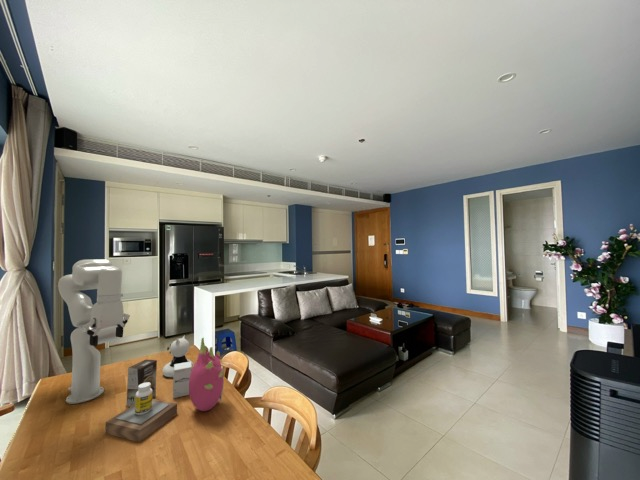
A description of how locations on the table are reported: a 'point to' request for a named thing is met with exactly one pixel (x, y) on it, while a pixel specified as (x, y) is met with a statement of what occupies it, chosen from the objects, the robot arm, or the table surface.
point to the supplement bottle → (143, 399)
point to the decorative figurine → (177, 355)
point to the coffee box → (141, 378)
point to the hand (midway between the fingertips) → (107, 341)
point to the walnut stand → (140, 421)
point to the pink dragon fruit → (206, 379)
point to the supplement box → (181, 379)
